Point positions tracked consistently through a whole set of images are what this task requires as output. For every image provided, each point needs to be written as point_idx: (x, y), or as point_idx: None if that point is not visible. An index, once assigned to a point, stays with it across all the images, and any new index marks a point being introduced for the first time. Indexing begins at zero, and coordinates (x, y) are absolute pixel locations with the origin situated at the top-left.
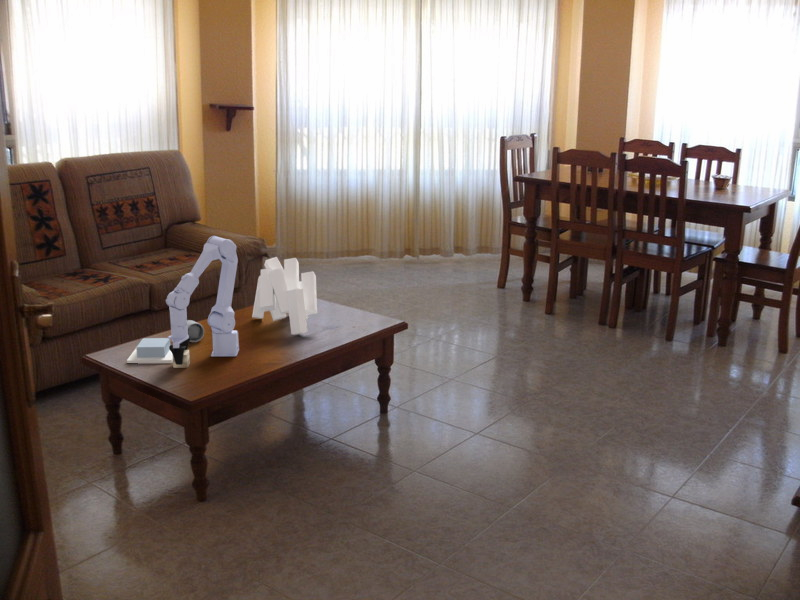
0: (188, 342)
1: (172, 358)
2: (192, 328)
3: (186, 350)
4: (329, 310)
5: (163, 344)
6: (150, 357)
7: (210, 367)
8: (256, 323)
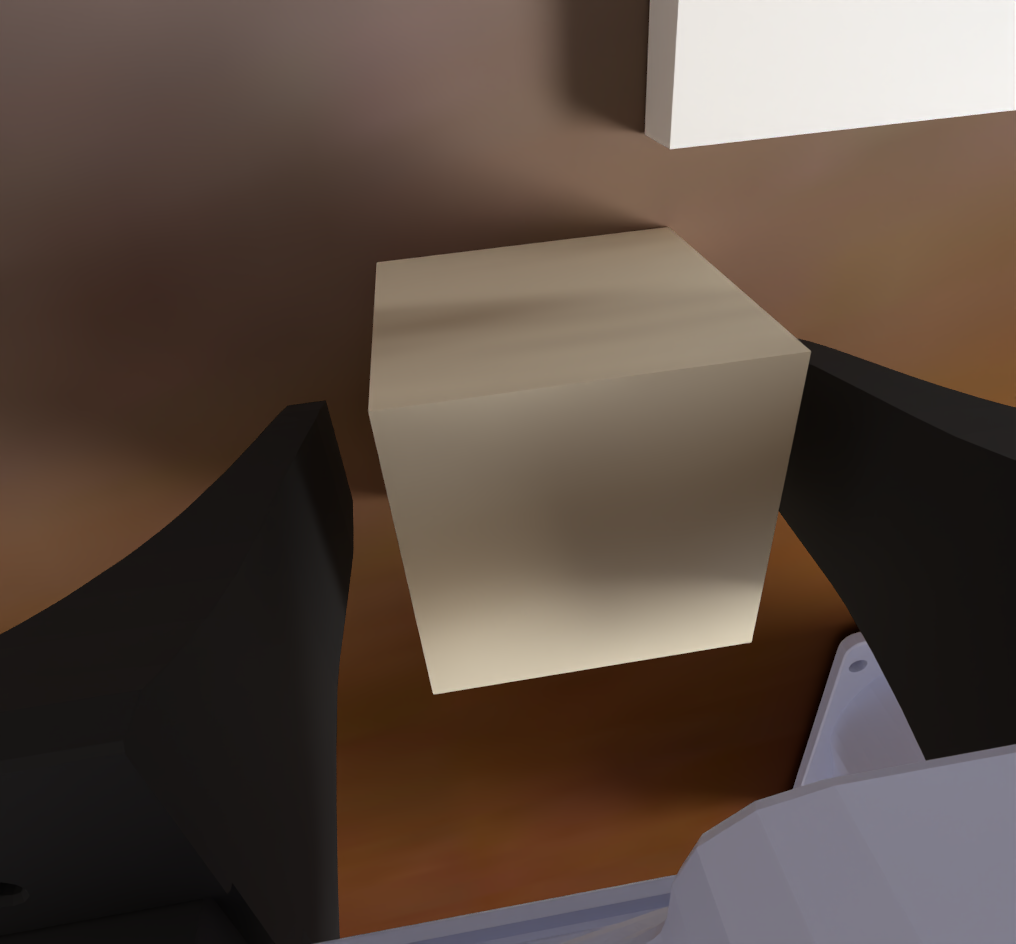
0: (928, 758)
1: (782, 135)
2: None
3: (717, 609)
4: None
5: None
6: None
7: (458, 727)
8: None
